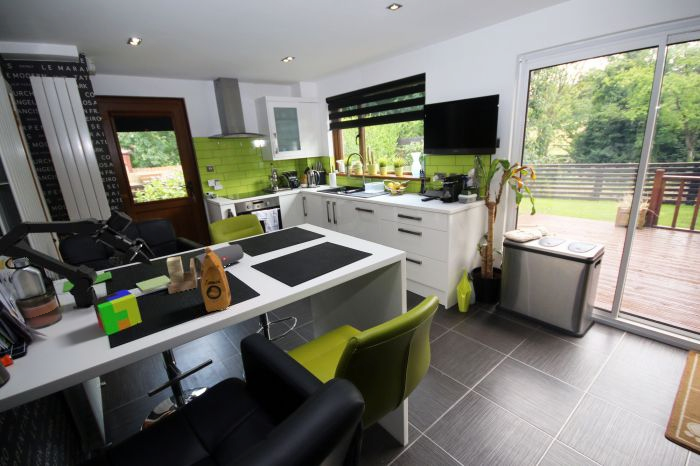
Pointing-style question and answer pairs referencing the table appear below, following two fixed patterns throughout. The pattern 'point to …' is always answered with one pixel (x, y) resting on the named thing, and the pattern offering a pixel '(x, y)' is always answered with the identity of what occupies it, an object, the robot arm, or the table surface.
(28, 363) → the table surface
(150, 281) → the olive mat
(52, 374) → the table surface
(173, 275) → the beech block
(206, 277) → the coffee package
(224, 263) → the bluetooth speaker
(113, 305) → the puzzle toy
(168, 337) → the table surface
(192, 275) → the light wood angled piece
